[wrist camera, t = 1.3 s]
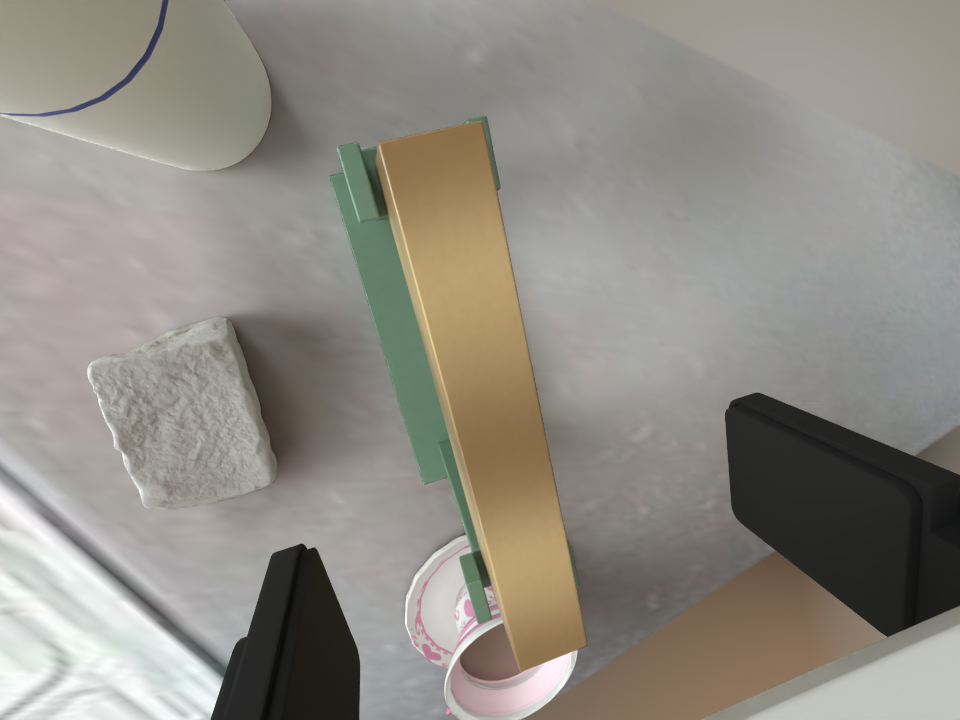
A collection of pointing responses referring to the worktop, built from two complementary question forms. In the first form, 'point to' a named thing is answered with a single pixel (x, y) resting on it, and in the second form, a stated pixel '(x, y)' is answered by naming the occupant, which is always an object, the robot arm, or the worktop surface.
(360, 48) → the worktop surface
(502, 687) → the teacup
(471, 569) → the hanger stand
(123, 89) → the cylindrical container
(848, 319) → the worktop surface
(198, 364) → the grey stone block
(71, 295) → the worktop surface
